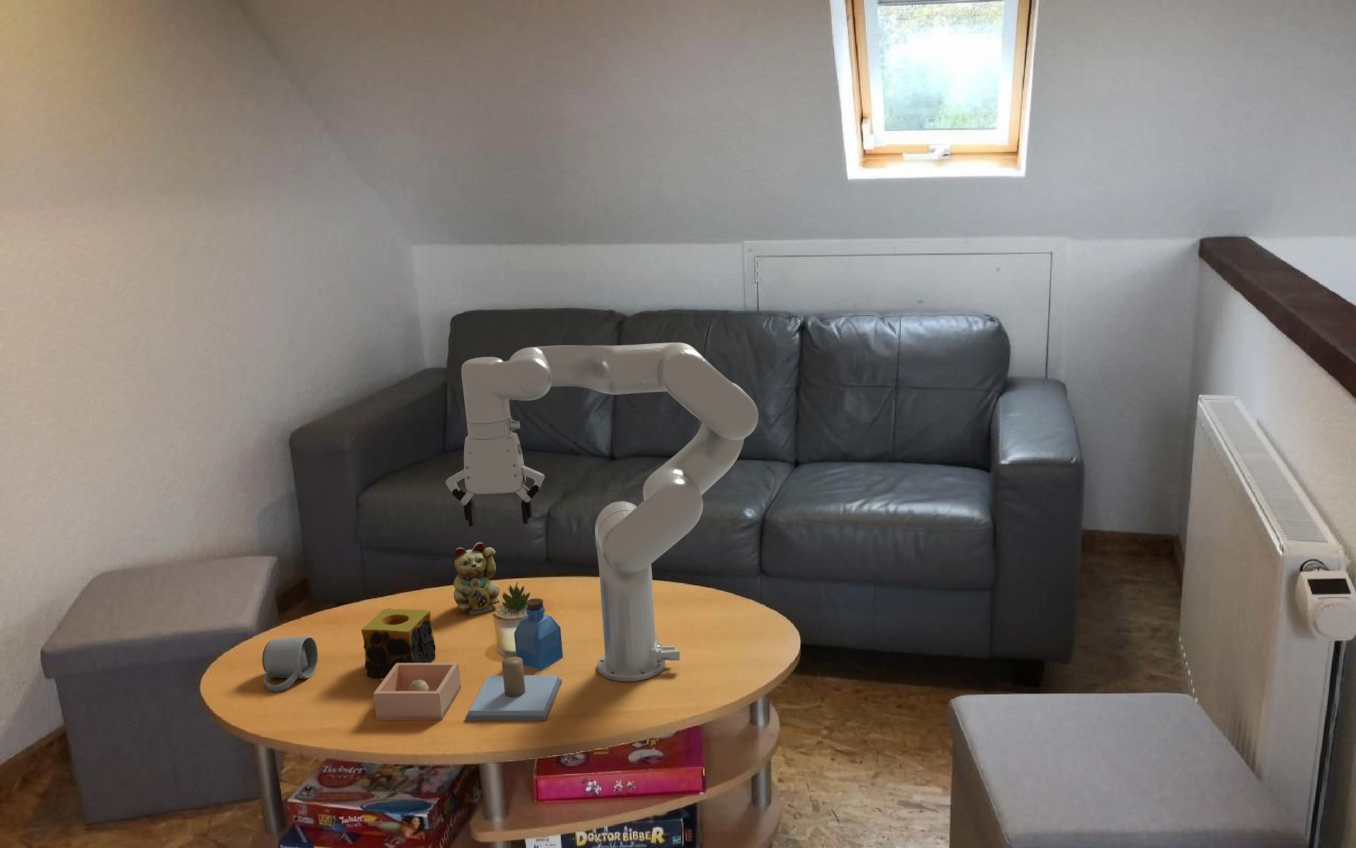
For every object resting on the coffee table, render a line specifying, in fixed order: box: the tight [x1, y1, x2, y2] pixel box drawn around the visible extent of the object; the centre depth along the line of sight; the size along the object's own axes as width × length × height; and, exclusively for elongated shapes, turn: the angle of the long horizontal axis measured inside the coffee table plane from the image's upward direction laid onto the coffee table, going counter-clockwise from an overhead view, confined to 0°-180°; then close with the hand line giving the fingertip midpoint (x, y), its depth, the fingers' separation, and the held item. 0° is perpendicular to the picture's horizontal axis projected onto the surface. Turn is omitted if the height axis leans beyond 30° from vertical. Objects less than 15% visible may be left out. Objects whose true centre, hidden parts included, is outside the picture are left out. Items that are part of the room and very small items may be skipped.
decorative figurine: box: [453, 542, 501, 616], centre depth 238 cm, size 10×8×15 cm
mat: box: [465, 678, 563, 722], centre depth 198 cm, size 14×14×1 cm
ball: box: [408, 680, 429, 691], centre depth 198 cm, size 4×4×4 cm
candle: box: [361, 608, 437, 680], centre depth 212 cm, size 10×10×10 cm
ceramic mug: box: [261, 635, 319, 692], centre depth 210 cm, size 11×8×8 cm
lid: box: [468, 656, 560, 716], centre depth 197 cm, size 13×13×7 cm
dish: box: [373, 662, 462, 721], centre depth 198 cm, size 12×12×5 cm
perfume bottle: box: [513, 597, 564, 671], centre depth 212 cm, size 6×6×12 cm
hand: (499, 522), depth 198 cm, fingers open, 9 cm apart
